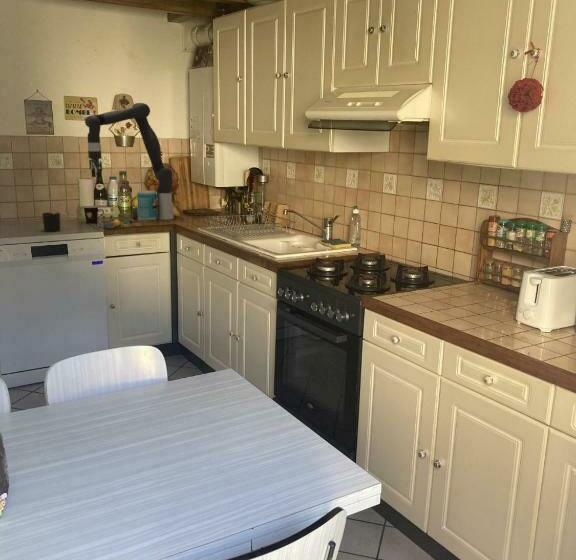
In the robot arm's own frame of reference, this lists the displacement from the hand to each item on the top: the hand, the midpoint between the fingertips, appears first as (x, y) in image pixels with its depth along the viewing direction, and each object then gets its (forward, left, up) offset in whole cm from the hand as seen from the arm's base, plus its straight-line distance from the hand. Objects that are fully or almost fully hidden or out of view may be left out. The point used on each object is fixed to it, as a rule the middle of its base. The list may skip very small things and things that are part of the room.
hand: (96, 177), depth 376 cm
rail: (-15, +11, -29) cm, 35 cm away
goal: (0, +11, -29) cm, 31 cm away
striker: (-17, +11, -28) cm, 35 cm away
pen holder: (+30, +7, -29) cm, 42 cm away
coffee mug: (+1, -8, -29) cm, 30 cm away
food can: (-34, -6, -29) cm, 45 cm away
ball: (-7, +11, -27) cm, 30 cm away
